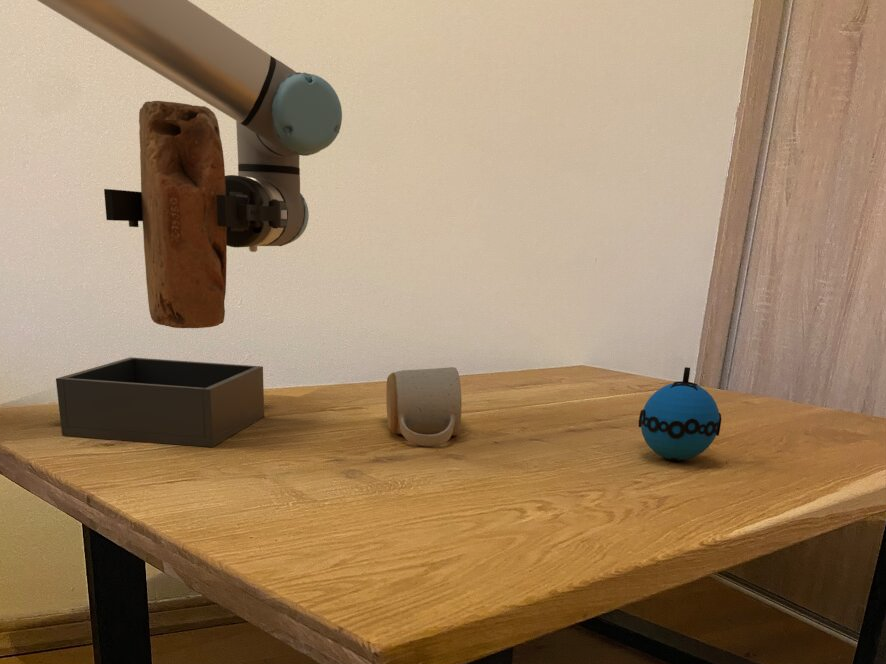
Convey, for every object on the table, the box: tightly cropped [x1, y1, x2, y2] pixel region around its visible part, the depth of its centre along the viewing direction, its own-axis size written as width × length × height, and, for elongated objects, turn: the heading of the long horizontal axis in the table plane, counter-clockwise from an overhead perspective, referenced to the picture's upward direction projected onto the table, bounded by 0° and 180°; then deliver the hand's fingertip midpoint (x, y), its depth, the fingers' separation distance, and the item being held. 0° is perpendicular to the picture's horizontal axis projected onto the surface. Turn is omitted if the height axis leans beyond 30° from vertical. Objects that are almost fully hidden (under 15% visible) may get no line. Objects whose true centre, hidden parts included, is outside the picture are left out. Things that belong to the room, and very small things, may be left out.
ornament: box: [638, 366, 722, 462], centre depth 100 cm, size 9×9×10 cm
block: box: [138, 100, 228, 329], centre depth 91 cm, size 11×8×20 cm
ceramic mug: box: [385, 366, 463, 447], centre depth 105 cm, size 11×8×8 cm
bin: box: [55, 356, 265, 448], centre depth 105 cm, size 17×18×6 cm
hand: (164, 207), depth 87 cm, fingers closed on block, 10 cm apart
